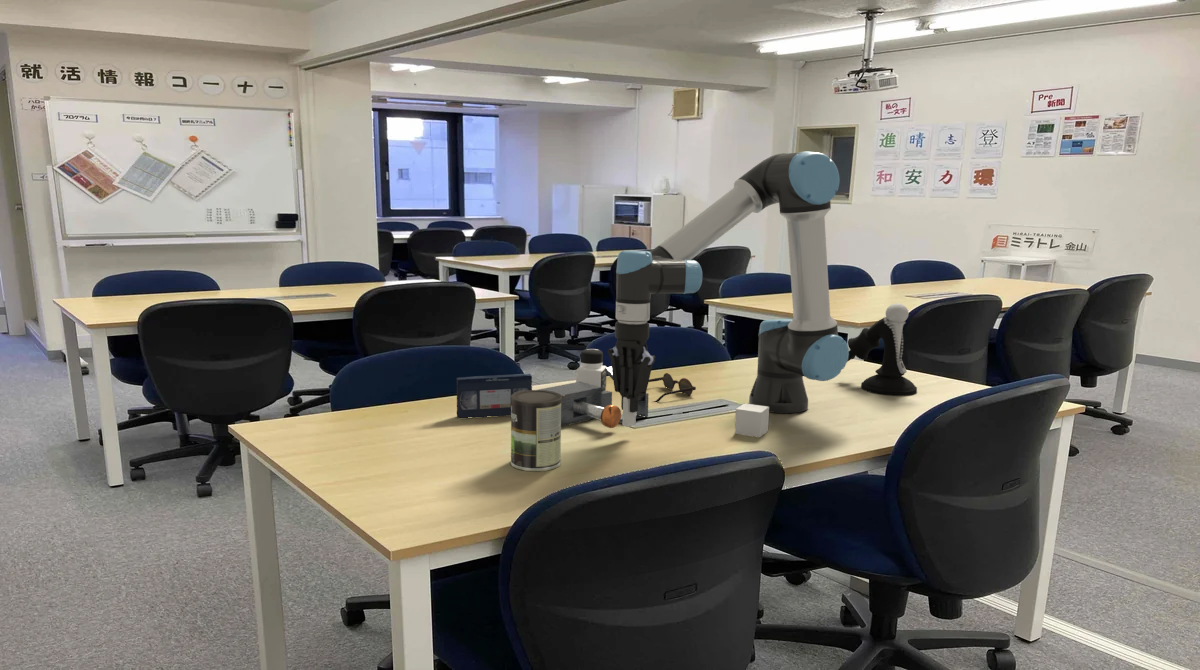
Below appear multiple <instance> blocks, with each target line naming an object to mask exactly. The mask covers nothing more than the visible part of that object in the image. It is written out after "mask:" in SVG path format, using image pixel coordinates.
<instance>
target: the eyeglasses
mask: <svg viewBox="0 0 1200 670" xmlns="http://www.w3.org/2000/svg"><path fill="white" fill-rule="evenodd" d="M658 381H662V383H663V385H664V387H665V388H666V387H667V388H666V389H668V388H669V389H668V390H670V389H671V391H668V392H664V393H663V394H661V395H660V396H659V397H658V398H657V399H656V400H655V401H653V402H657V403H658V402H659V401H661V400H662V399H663V398H664V397H665V396H669V395H674V394H678V393H682V394H683V393H685V394H684V395H687V394H688V396H691V395H692V393H693V391H696V389H697V388H696V386H694V385H693V384H692V382H691V381H690V380H689V379H688V378H684V377H682V378H680V380H679V381H678V380H677V379H676V380H674V379H673V377H672V374H670V373H669V372H665V373H664V374H663V376H661V377H655V378H649V382H648V383H652V382H658ZM676 384H678V388H679V389H678V390H674V388H675V385H676Z"/></svg>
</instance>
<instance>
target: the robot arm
mask: <svg viewBox="0 0 1200 670" xmlns="http://www.w3.org/2000/svg"><path fill="white" fill-rule="evenodd" d="M839 186H840V173H839V169H838V167H837V165H836V164H835V162H834V160H832V159H831V158H830V157H829V156H828V155H826V154H825V153H821V152H817V151H816V152H815V151H811V150H810V151H799V152H789V153H777V154H774V155H771V156H769V157H767V158H766V159H764V160H762V161H760V162H759V163H757V165H755V166H754V167H752V168H751V169H749V170H748V171H747V172H745V173H744V174H743V175H742V176H740V177H739V178H738V179H736V180H735V181H734V183H733V187H732V188H731V189H730V190H729V191H727V192H726V193H725V194H724V195H722V196H721V197H720V198H718V199H717V200H716V201H715V202H713V203H712V204H711V205H709V206H708V207H707V208H705V209H703V211H702V212H700V213H699V214H698V215H697V216H695V217H693V218H692V219H691V220H690V221H688V222H687V223H686V224H685V225H683V226H682V227H681V228H680V229H678V230H677V231H676V232H674V233H672V235H671V236H669V237H668V238H667V239H665V240H664V241H663V242H662V243H660V244H659V245H658V246H656V247H654V248H653V249H652V250H651V251H648V250H631V249H630V250H621V251H620V252H619V253H618V255H617V262H616V270H615V273H616V283H615V284H616V286H615V287H616V288H615V289H616V298H615V319H616V320H617V321H616V322H615V323H614V324H615V325H614V337H615V339H617V340H616V341H615V342H616V343H615V346H613V348H608V349H607V353H608V357H609V359H610V364H611V366H612V374H613V380H612V381H613V388H614V391H615V393H619V395H620V397H621V399H620V400H621V403H620V404H621V406H620V408H621V410H622V426H623V427H626V428H628V427H632V426H633V427H634V426H636V424H637V423H636V422H637V421H636V419H637V415H636V412H637V411H638V398H639V397H641V396H645V395H646V393H647V391H648V386H649V383H650V382H649V379H651V378H650V377H651V373H652V368H653V366H654V363H655V362H656V360H657V358H656V356H655V355H651V354H650V353H649V351H648V344H647V341H648V340H649V338H650V324H649V322H648V321H650V317H651V314H650V313H651V295H659V294H660V295H661V294H662V295H663V294H665V295H667V294H668V295H669V294H675V295H676V294H683V295H685V294H686V295H687V294H695V293H696V292H698V291H699V290H700V288H701V286H702V284H703V270H702V266H701V265H700V263H699V262H698V261H697V260H694V258H695V257H696V256H698V255H699V254H701V253H702V252H703V251H704V250H706V249H707V248H708V247H710V246H712V245H713V244H714V243H715V242H716V241H717V240H719V239H720V238H721V237H722V236H724V235H725V234H726V233H728V232H729V231H730V230H731V229H732V228H734V227H735V226H737V225H739V223H741V222H742V221H743V220H745V219H746V218H747V217H748V216H750V215H751V214H752V213H755V214H756V213H757V214H758V213H761V211H763V210H764V209H765V208H767V207H769V206H771V205H776V204H778V205H779V207H778V208H779V214H780V215H781V216H782V217H783V218H784V219H785V220H786V223H787V224H786V225H787V238H788V254H789V268H790V285H791V299H792V302H791V303H792V314H793V318H781V319H780V318H778V319H764V320H763V321H761V323H759V324H760V325H759V329H758V348H757V349H758V351H757V353H758V354H757V369H756V370H757V373H756V378H755V381H754V384H753V386H752V389H751V390H750V393H749V398H748V404H753V405H760V406H767V407H769V413H777V414H793V413H796V414H797V413H802V412H806V410H808V409H809V397H808V395H807V390H806V387H805V382H804V377H805V378H807V379H809V380H810V381H811V380H812V381H813V380H814V381H818V382H826V381H827V382H828V381H830V380H832V379H834V378H836V377H838V376H839V375H840V374H841V372H842V370H844V369H845V367H846V365H847V364H848V362H847V360H848V356H849V351H850V348H849V346H848V342H847V341H846V340H844V338H843V337H842V336H840V335H839V331H838V322H837V320H836V319H834V318H833V317H832V316H831V307H830V288H829V287H830V285H829V272H828V271H829V270H828V269H829V268H828V256H827V255H828V254H827V253H828V251H827V238H826V235H827V234H826V222H825V219H826V218H825V217H826V215H828V213H829V211H830V210H831V208H832V206H831V204H832V203H831V200H833V199H834V198H835V196H836V192H838V190H839V188H840V187H839ZM611 366H610V367H611ZM619 385H620V386H619Z"/></svg>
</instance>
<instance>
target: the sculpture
mask: <svg viewBox="0 0 1200 670" xmlns="http://www.w3.org/2000/svg"><path fill="white" fill-rule="evenodd" d="M909 315H910V314H909V310H908V307H906V305H904V304H902V303H892V304H890V305H889V306H888V307H887V308H886V310H885V316H884V317H883V318H880V319H879V320H877V321H876V322H875V323H874V324H872V325H871V326H870V327H869V328H867V327H864V328H862V330H861V332H860V333H859V334H858V335H857V336H855V337H851V338H849V339H848V340H847V345H848V349H849V356H848V360H847V363H848V362H849V361H851V360H854V359H855V358H858V359H859V360H862V361H864V360H867V359H868V355H869V354H870V352H871V351H872V350H874V349H876V348H878V347H880V344H881V342H880V340H882V341H883V344H884V350H883V357H882V363H881V366H880V367H879V368H877V369H876V370H875V373H876V374H874V375H871V376H869V377H867V378H866V379H864V380H863V381H862V382H861V384H860V385H861V386H860V388H861V389H862V390H863V391H865V392H868V393H873V394H876V395H877V394H878V395H883V396H884V395H885V396H893V397H894V396H896V397H898V396H912V395H914V394H917V392H918V390H917V389H918V387H917V386H916V385H915V383H913V382H912V381H911V380H910V379H908V378H906V377H904V375H905V374H906V373H907V371H908V370H907V369H906V366H905V364H904V362H903V359H902V357H903V354H904V353H903V351H904V334H903V332H904V331H903V328H904V325H905V324H906V320H907V319H908V318H909Z"/></svg>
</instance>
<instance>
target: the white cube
mask: <svg viewBox="0 0 1200 670" xmlns="http://www.w3.org/2000/svg"><path fill="white" fill-rule="evenodd" d="M769 416H770V412H769V407H767V406H760V405H753V404H749V403H743V404H742V405H740V406H738V407H736V408H735V424H734V434H735V435H740V434H741V436H747V435H748V436H747V437H753V436H757V437H756V438H759V437H760V438H761V437H763V436H764V435H765V434H766V433H768V432H767V431H769V420H770V419H769V418H770V417H769ZM764 433H765V434H764ZM763 434H764V435H763ZM762 435H763V436H762Z"/></svg>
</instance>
